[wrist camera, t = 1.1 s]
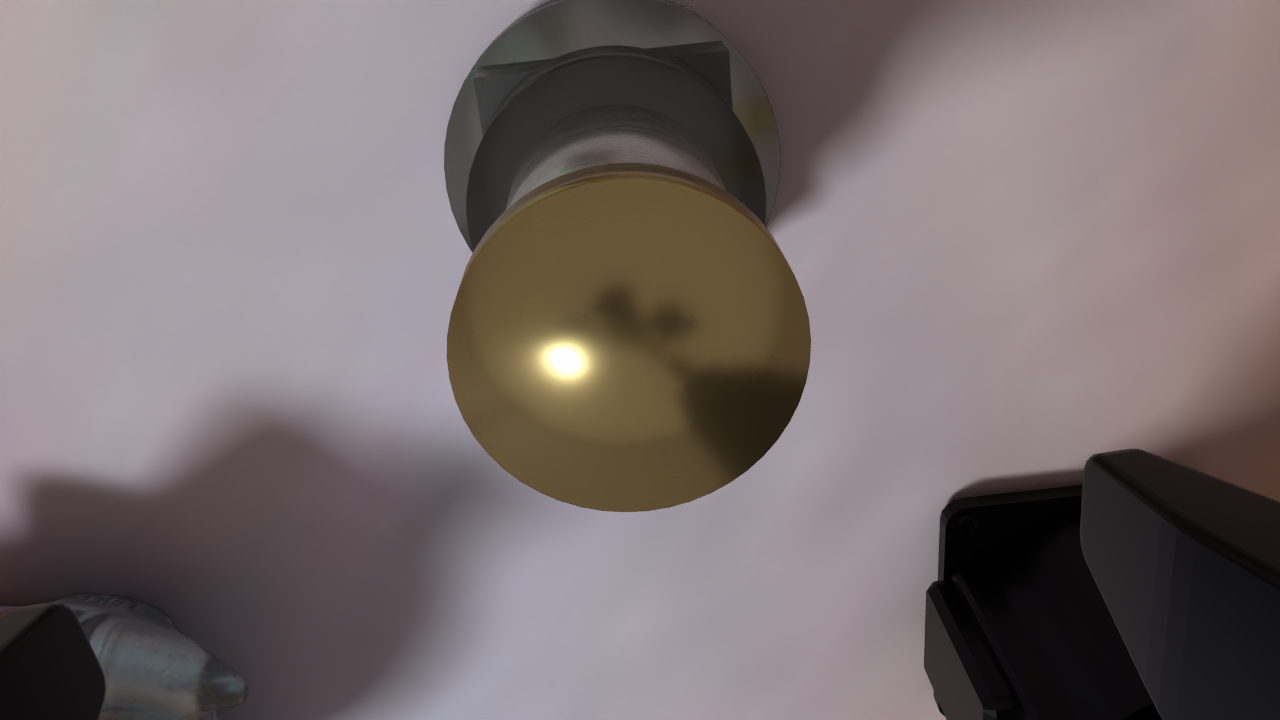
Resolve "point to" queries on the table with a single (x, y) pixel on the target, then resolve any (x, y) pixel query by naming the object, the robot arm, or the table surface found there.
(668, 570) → the table surface
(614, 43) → the disc with square block
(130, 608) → the carburetor
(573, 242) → the brass cabinet knob
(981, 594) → the robot arm
